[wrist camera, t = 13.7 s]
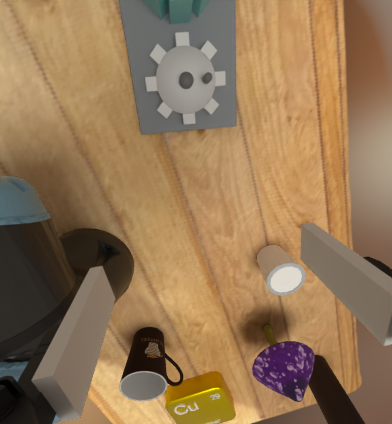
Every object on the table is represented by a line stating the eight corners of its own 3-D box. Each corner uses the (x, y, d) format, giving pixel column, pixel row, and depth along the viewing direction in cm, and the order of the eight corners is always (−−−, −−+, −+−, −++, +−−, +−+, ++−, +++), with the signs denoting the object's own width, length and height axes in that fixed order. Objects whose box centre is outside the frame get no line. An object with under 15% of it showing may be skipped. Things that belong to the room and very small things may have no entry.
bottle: (311, 351, 57) (376, 463, 38) (330, 358, 59) (401, 468, 40) (294, 368, 59) (348, 481, 40) (313, 374, 61) (373, 486, 42)
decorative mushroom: (297, 334, 54) (339, 408, 40) (247, 351, 55) (272, 429, 41) (287, 298, 49) (330, 367, 35) (233, 316, 50) (255, 392, 36)
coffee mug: (121, 337, 49) (108, 387, 40) (150, 317, 48) (144, 364, 39) (157, 362, 53) (153, 412, 44) (185, 344, 52) (187, 392, 43)
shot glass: (268, 236, 43) (284, 256, 36) (294, 251, 45) (314, 273, 38) (246, 262, 45) (258, 286, 38) (272, 276, 46) (287, 301, 40)
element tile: (183, 415, 63) (184, 437, 59) (163, 385, 58) (162, 407, 53) (233, 399, 63) (238, 420, 58) (218, 367, 57) (222, 388, 52)
